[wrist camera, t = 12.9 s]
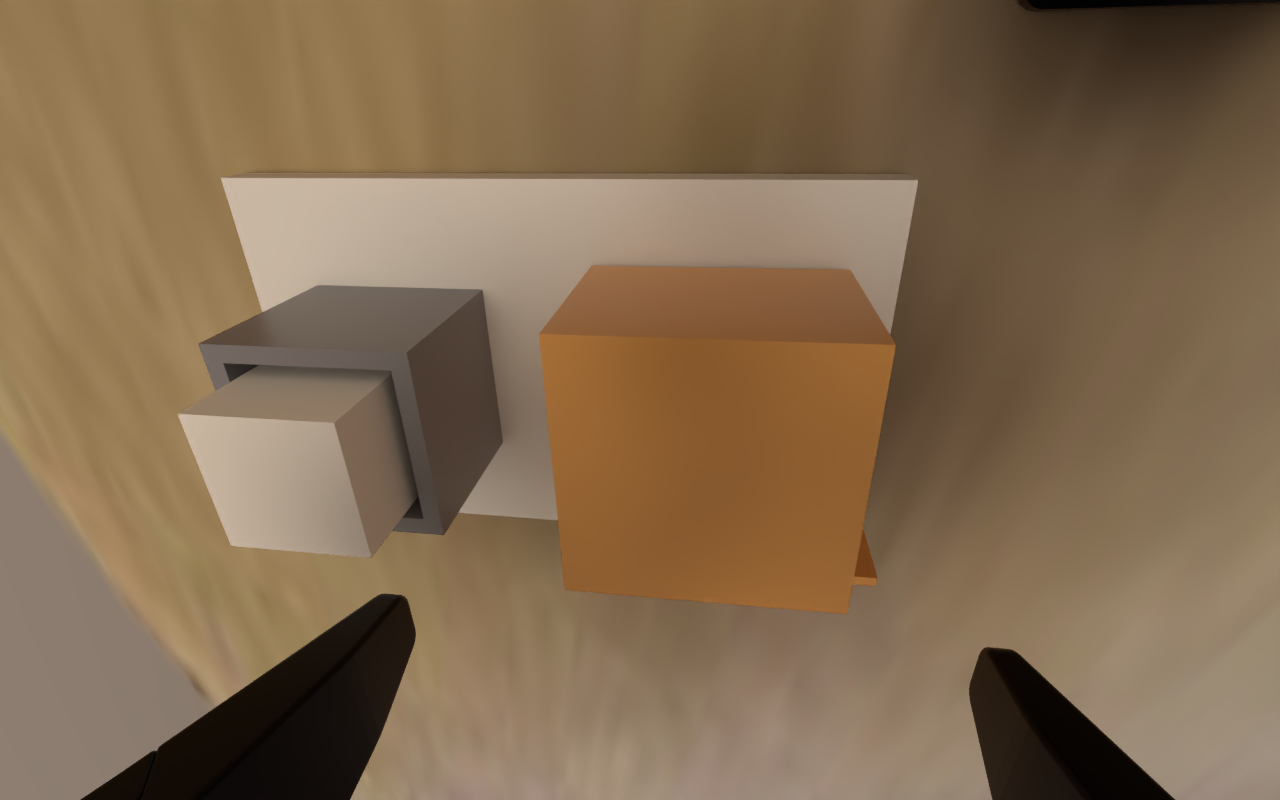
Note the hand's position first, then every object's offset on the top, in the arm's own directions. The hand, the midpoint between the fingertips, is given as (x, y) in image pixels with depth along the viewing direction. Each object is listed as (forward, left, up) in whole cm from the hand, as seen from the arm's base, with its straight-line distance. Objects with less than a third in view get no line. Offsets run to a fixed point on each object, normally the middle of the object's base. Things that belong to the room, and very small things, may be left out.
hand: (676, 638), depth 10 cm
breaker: (+10, +1, -8) cm, 12 cm away
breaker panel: (+5, +1, -12) cm, 13 cm away
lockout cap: (0, +1, -10) cm, 11 cm away
